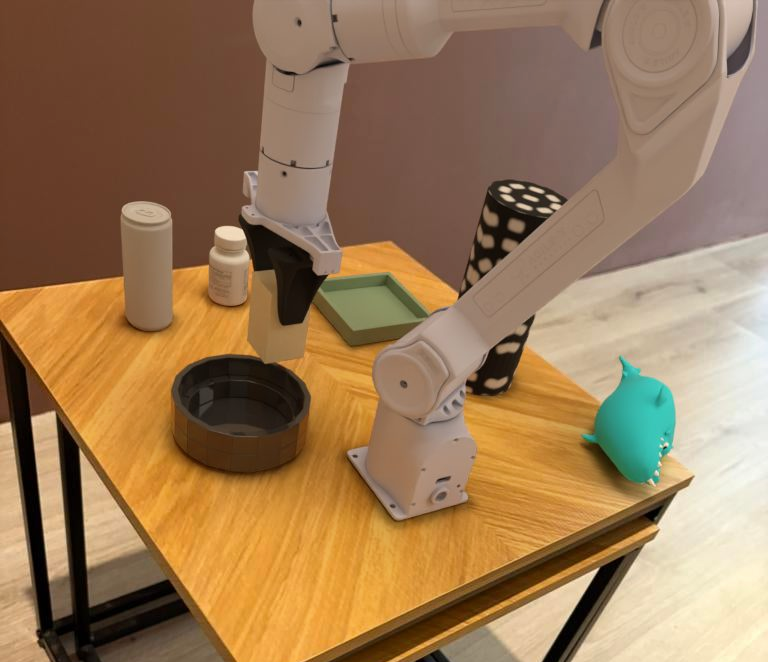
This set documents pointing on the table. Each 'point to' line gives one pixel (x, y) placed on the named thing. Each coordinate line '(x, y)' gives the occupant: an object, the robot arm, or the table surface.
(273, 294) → the block
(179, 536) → the table surface
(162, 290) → the beverage can
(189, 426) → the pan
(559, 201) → the white-spotted black cylinder
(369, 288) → the tray
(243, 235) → the pill bottle
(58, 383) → the table surface
